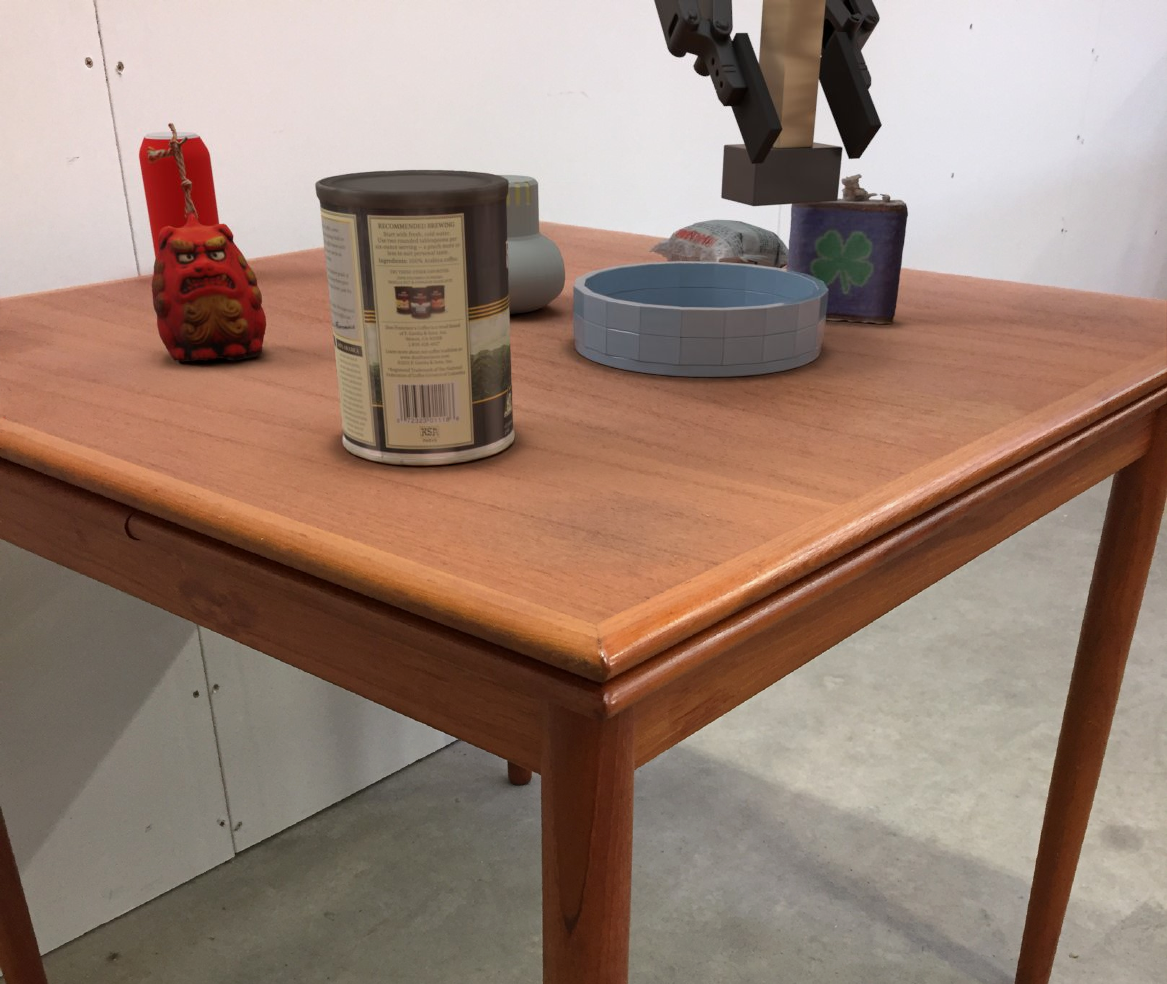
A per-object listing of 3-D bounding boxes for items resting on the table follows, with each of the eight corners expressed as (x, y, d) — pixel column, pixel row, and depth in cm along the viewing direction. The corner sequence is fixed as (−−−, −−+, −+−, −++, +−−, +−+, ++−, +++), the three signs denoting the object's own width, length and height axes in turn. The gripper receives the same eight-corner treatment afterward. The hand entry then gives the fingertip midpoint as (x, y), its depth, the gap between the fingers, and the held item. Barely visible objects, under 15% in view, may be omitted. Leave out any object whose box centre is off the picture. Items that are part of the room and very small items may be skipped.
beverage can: (203, 268, 122) (183, 129, 116) (239, 277, 119) (220, 134, 112) (146, 276, 118) (122, 133, 112) (181, 285, 115) (158, 138, 108)
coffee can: (463, 407, 81) (452, 164, 74) (547, 448, 74) (544, 183, 66) (312, 431, 76) (285, 174, 69) (386, 478, 69) (364, 196, 61)
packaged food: (716, 292, 113) (720, 233, 110) (647, 271, 122) (649, 215, 119) (794, 285, 116) (800, 227, 114) (721, 265, 125) (725, 211, 123)
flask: (779, 316, 104) (791, 174, 99) (786, 310, 107) (798, 170, 101) (892, 325, 102) (911, 180, 96) (897, 318, 104) (915, 175, 99)
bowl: (842, 331, 100) (849, 270, 98) (789, 387, 85) (795, 318, 83) (622, 312, 106) (623, 255, 103) (536, 362, 91) (535, 297, 89)
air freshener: (572, 318, 104) (572, 184, 99) (475, 325, 101) (470, 188, 96) (531, 293, 112) (529, 169, 107) (441, 299, 110) (435, 173, 105)
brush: (802, 193, 81) (823, -50, 74) (838, 201, 77) (862, -53, 71) (720, 198, 78) (733, -52, 72) (753, 206, 75) (770, -54, 69)
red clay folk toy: (170, 371, 88) (131, 131, 81) (154, 350, 94) (115, 123, 86) (278, 360, 91) (250, 128, 83) (256, 340, 97) (228, 120, 89)
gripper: (803, -115, 84) (917, 181, 80) (539, -126, 78) (648, 197, 74) (857, -228, 77) (985, 91, 73) (573, -249, 71) (696, 99, 67)
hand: (816, 143), depth 73 cm, fingers closed on brush, 6 cm apart
